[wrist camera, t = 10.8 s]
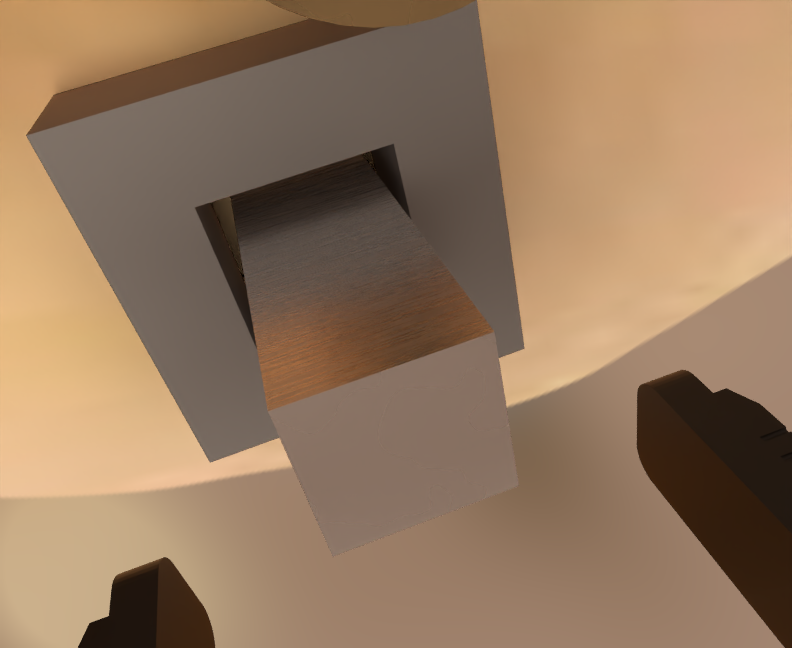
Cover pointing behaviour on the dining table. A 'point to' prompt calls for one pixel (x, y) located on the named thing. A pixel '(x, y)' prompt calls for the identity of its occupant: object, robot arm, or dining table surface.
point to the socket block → (269, 162)
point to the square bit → (369, 356)
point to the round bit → (372, 10)
